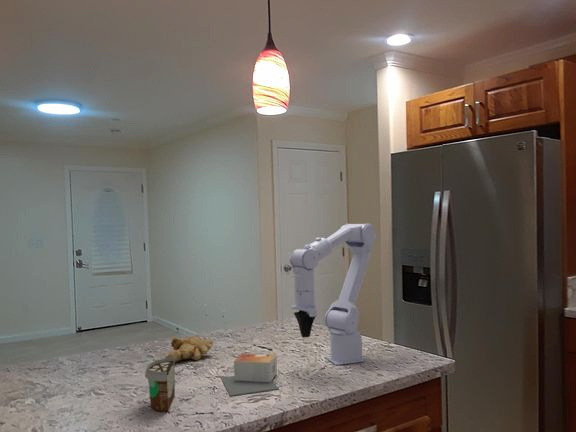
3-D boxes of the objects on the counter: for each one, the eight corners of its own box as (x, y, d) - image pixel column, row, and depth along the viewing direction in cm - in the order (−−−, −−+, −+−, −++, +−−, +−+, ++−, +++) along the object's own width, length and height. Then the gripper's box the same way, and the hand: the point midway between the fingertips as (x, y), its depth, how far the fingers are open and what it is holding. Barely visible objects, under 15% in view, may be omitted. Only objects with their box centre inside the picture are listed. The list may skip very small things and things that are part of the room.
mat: (265, 372, 137) (265, 371, 137) (278, 389, 124) (278, 388, 124) (221, 378, 133) (221, 377, 133) (230, 396, 120) (230, 395, 120)
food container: (151, 396, 122) (150, 358, 122) (175, 395, 122) (174, 356, 122) (140, 416, 109) (139, 374, 109) (167, 415, 110) (166, 372, 110)
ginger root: (208, 343, 166) (208, 323, 164) (216, 367, 151) (216, 345, 149) (163, 350, 161) (162, 329, 159) (166, 376, 146) (165, 352, 144)
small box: (270, 362, 128) (233, 361, 130) (270, 383, 128) (234, 381, 130) (276, 353, 136) (242, 352, 138) (277, 373, 136) (242, 371, 138)
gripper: (284, 287, 143) (285, 332, 143) (299, 295, 129) (300, 344, 129) (306, 286, 145) (307, 330, 145) (323, 293, 131) (324, 341, 131)
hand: (305, 336), depth 137 cm, fingers closed
